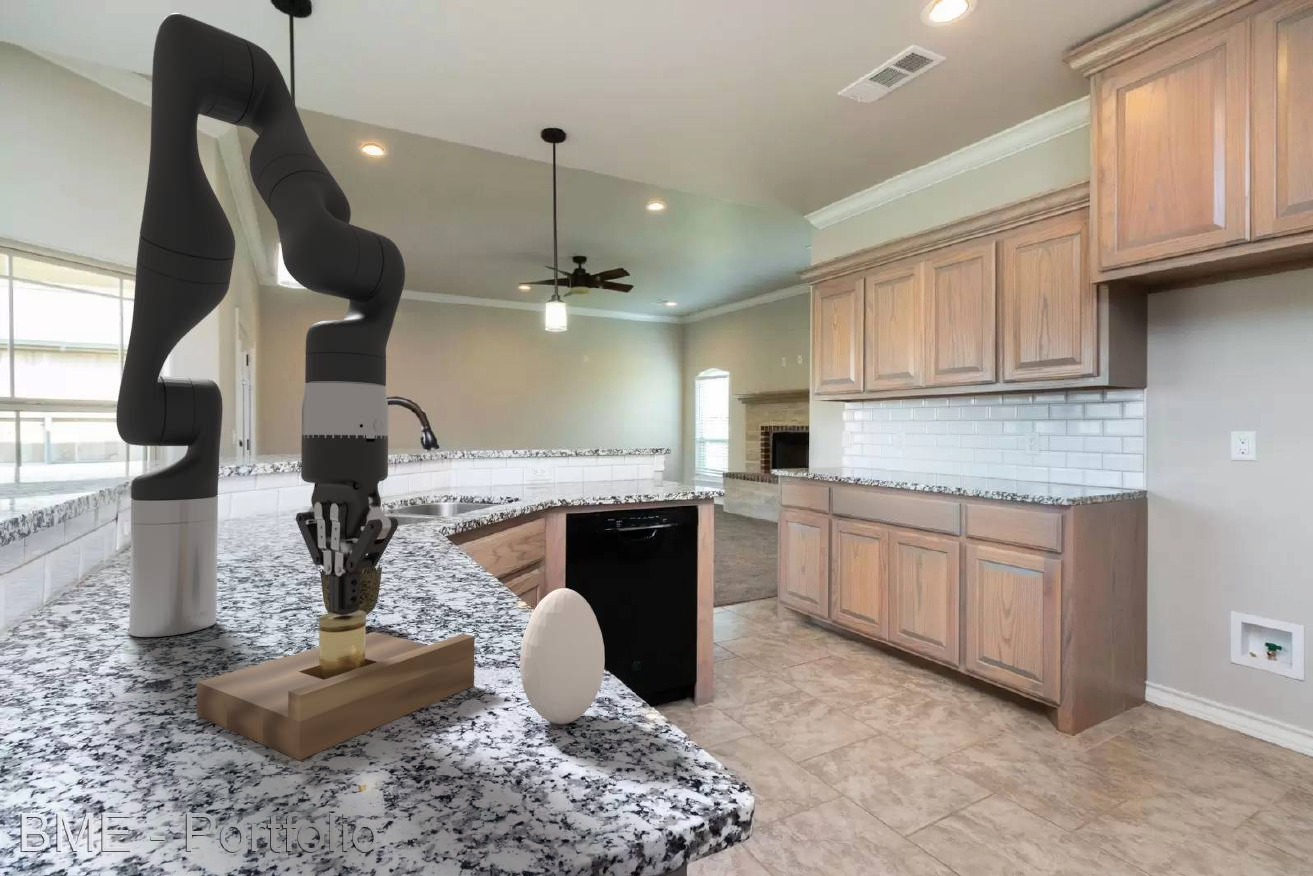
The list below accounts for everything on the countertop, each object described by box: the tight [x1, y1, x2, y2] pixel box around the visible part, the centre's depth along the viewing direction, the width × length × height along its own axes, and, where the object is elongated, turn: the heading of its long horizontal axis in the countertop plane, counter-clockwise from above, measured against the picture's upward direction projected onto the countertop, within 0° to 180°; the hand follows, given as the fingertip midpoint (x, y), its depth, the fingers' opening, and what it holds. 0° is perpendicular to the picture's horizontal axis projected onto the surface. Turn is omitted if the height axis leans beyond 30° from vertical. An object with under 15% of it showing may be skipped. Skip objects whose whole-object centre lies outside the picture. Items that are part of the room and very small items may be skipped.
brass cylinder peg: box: [318, 610, 367, 680], centre depth 62 cm, size 4×4×8 cm
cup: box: [319, 564, 383, 623], centre depth 85 cm, size 8×7×8 cm
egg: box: [519, 587, 606, 725], centre depth 57 cm, size 7×7×12 cm
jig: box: [196, 631, 476, 761], centre depth 61 cm, size 16×18×5 cm
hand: (344, 612), depth 62 cm, fingers closed
